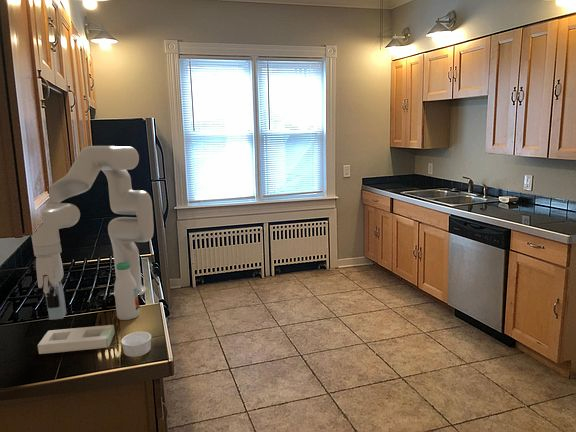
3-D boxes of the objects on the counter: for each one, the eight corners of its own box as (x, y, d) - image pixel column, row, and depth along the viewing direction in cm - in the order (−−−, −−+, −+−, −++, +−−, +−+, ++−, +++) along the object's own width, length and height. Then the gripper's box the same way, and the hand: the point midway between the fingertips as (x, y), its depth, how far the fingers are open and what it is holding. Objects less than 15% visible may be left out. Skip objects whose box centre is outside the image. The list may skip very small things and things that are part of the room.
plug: (53, 314, 151) (48, 281, 148) (66, 313, 152) (61, 280, 149) (49, 319, 147) (43, 286, 145) (62, 318, 148) (57, 285, 145)
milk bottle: (132, 321, 167) (127, 267, 162) (113, 320, 168) (106, 266, 164) (143, 312, 174) (138, 260, 170) (124, 311, 176) (118, 259, 171)
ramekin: (156, 352, 145) (154, 339, 144) (126, 361, 140) (125, 348, 139) (147, 341, 152) (146, 329, 151) (119, 349, 148) (117, 336, 147)
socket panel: (49, 338, 155) (48, 330, 155) (114, 332, 158) (113, 324, 158) (38, 354, 146) (37, 345, 145) (108, 347, 149) (107, 338, 148)
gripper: (43, 241, 152) (52, 294, 156) (24, 258, 136) (34, 317, 140) (68, 240, 153) (76, 292, 157) (51, 256, 137) (60, 314, 141)
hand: (56, 303), depth 148 cm, fingers closed on plug, 4 cm apart
